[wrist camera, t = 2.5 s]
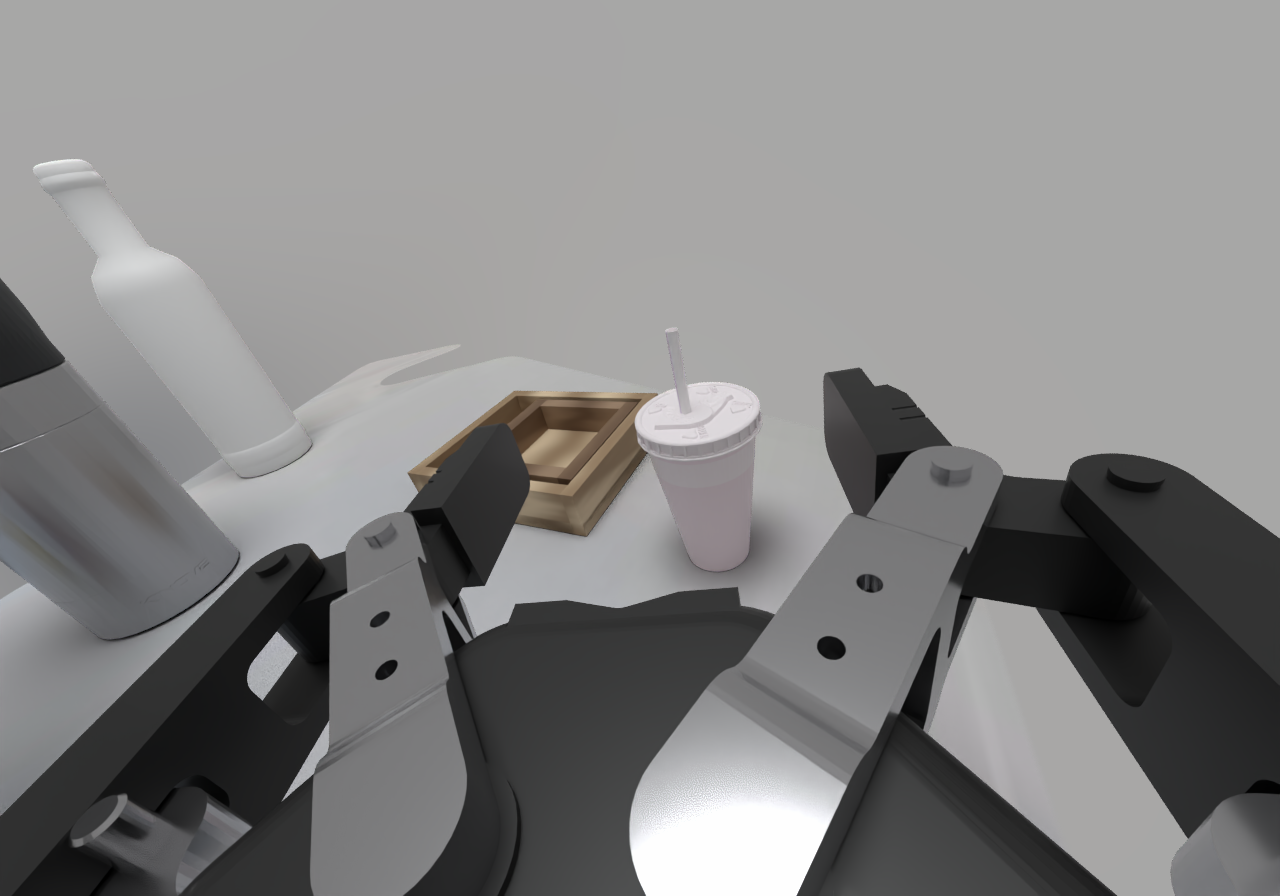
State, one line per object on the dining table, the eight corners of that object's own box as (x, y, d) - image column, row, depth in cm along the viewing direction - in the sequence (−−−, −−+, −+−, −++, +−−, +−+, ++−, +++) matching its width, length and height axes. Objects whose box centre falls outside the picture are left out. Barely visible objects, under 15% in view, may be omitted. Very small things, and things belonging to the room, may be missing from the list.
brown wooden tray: (426, 506, 39) (407, 472, 38) (525, 420, 49) (514, 390, 48) (586, 536, 32) (572, 496, 30) (664, 428, 42) (657, 393, 40)
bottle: (318, 432, 59) (136, 157, 44) (308, 459, 53) (91, 148, 37) (247, 457, 57) (30, 177, 41) (228, 488, 51) (-37, 171, 35)
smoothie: (648, 543, 30) (592, 335, 23) (729, 500, 32) (700, 295, 25) (704, 610, 25) (655, 368, 18) (797, 553, 27) (786, 315, 20)
